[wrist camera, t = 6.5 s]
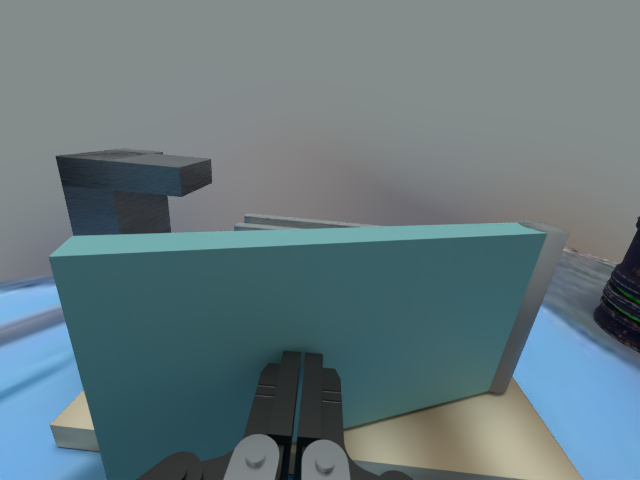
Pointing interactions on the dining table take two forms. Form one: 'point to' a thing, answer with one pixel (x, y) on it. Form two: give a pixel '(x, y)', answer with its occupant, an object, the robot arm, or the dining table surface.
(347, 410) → the teal upright panel
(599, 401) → the dining table surface
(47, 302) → the dining table surface
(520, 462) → the mounting board
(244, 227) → the cooler block
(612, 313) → the storage jar
